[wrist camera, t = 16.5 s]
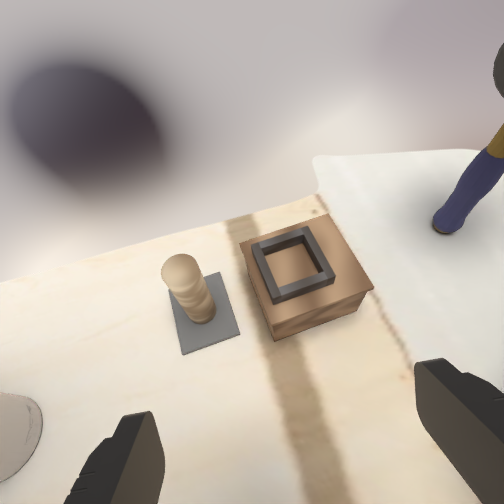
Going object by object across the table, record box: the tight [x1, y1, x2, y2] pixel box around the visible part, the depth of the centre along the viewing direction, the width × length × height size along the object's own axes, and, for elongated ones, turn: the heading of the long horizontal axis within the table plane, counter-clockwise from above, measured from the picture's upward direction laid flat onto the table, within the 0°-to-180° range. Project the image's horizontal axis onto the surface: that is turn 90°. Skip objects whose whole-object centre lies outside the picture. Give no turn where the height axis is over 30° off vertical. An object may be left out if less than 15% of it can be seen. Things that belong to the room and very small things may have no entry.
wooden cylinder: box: [161, 254, 216, 324], centre depth 38 cm, size 4×4×12 cm
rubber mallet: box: [433, 43, 504, 233], centre depth 35 cm, size 12×8×30 cm, turn 122°
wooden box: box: [239, 214, 374, 342], centre depth 40 cm, size 13×12×10 cm
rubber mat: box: [168, 272, 240, 355], centre depth 44 cm, size 8×10×1 cm
